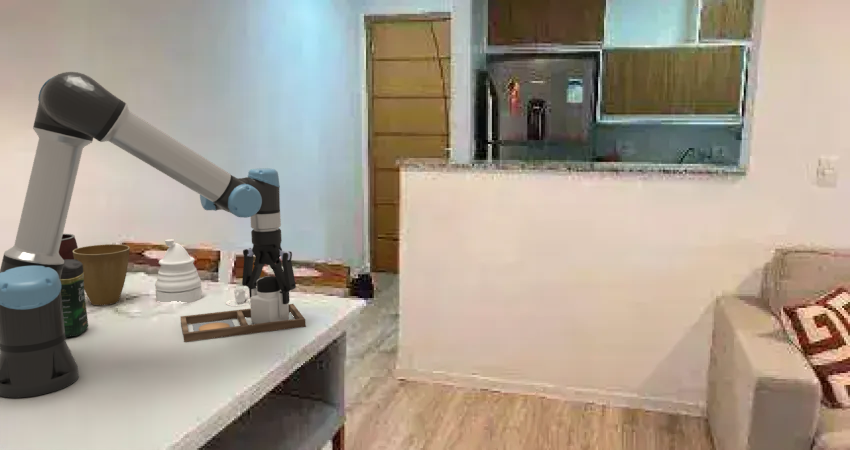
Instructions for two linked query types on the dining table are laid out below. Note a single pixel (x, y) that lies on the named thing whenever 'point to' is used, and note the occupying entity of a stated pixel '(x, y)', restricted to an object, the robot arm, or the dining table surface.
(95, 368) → the dining table surface
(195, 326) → the card
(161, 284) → the honey pot
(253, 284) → the robot arm
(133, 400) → the dining table surface
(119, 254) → the plant pot
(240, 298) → the teacup and saucer
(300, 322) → the walnut rack
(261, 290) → the medicine bottle
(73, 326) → the coffee jar
